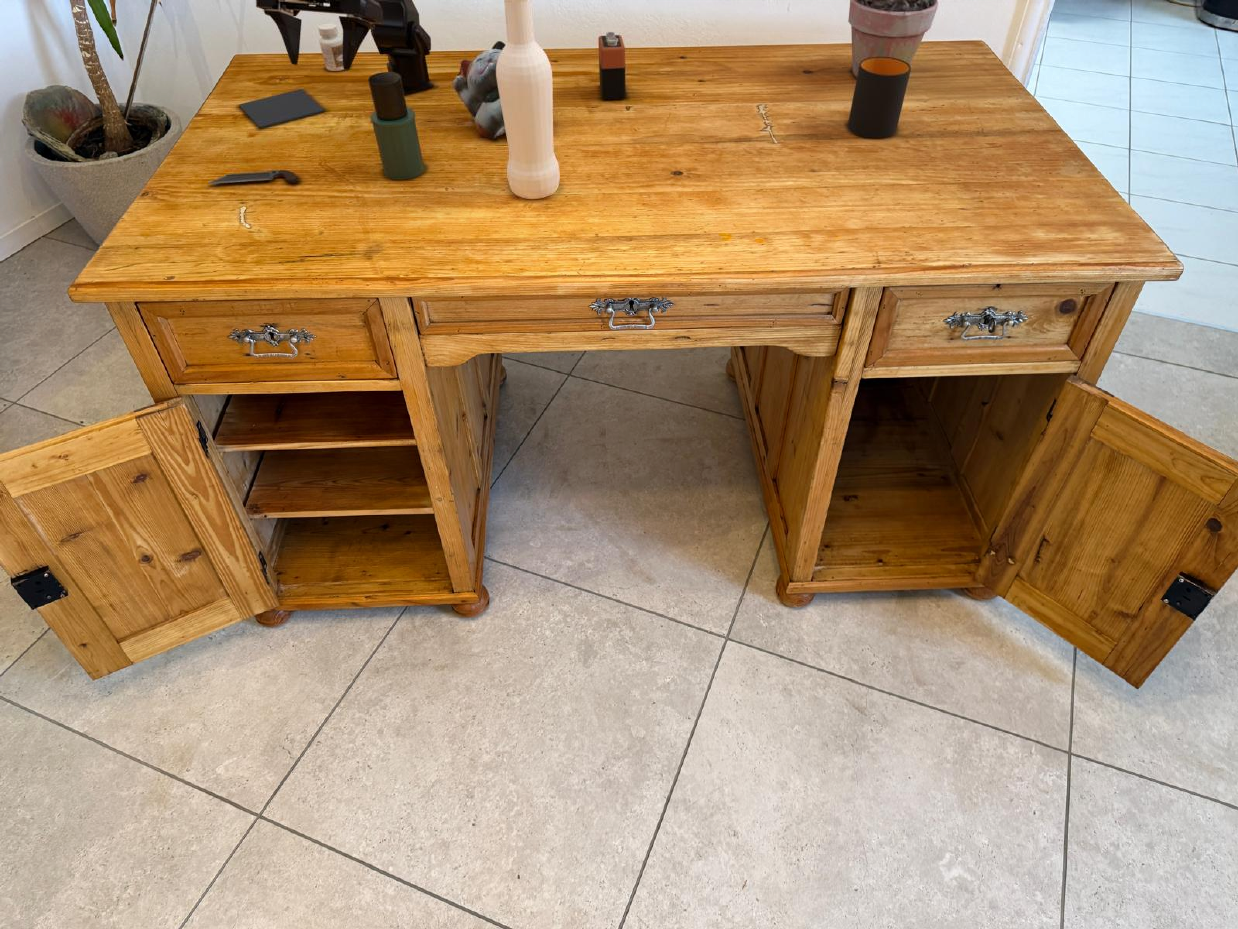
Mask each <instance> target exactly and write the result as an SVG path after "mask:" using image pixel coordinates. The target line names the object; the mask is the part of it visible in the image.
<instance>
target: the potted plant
mask: <svg viewBox="0 0 1238 929" xmlns="http://www.w3.org/2000/svg"><path fill="white" fill-rule="evenodd" d="M938 7H939V1H938V0H849V7H848V8H849V9H848V18H847V19H848V20H847V22H848V23H849V25H850V28H851V66H852V69H851V70H852V74H853V76H854V77H855V78H857V74H858V69H859V64H860V62H861V61H862V60H864V59H867V58H870V57H892V58H897V59H900V60H903V61H905V62H907V63H908V64H909V65H910V66H911V64H912V61H913V60H914V58H915V55H916V53H917V51H918V49H919V47H920V45H921V43H922V41H923V38H924V36H925V33H928V31H930V29H931V27H932V25H933V23H934V19H935V15H936V13H937V10H938Z"/></svg>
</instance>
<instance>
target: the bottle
mask: <svg viewBox="0 0 1238 929" xmlns="http://www.w3.org/2000/svg"><path fill="white" fill-rule="evenodd" d="M503 2H504V3H503V4H504V15H505V16H504V17H505V28H506V43H505V47H504V48H503V50H502V52H501V54H500V55H499V58H498V61H497V65H496V78H497V84H498V90H499V96H500V101H501V107H502V113H503V119H504V124H505V130H506V133H505V136H506V141H507V147H508V155H509V156H508V161H507V164H506V175H507V176H506V178H507V182H508V185H509V188H510V191H511V192H512V193H513V194H514V195H515V196H517V197H519V198H522V199H525V200H526V199H527V200H539V199H544V198H547V197H549V196H552V195H553V194H555V193H556V191H557V190H558V188H559V185H560V180H561V175H560V174H561V173H560V165H559V162H558V159H557V158H556V155H555V150H554V149H555V148H554V106H553V105H554V102H553V98H554V97H553V96H554V95H553V94H554V93H553V69H552V65H551V61H550V60H549V57H548V55H547V53H546V52H545V51H544V50H543V48H542V47H541V46H540V45H539V43H538V42H537V41H536V39H535V32H534V23H533V21H534V20H533V13H532V12H533V11H532V4H531V3H532V2H531V0H503Z"/></svg>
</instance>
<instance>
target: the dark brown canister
mask: <svg viewBox="0 0 1238 929" xmlns="http://www.w3.org/2000/svg"><path fill="white" fill-rule="evenodd" d="M367 81H368V85H369V90H370V94H371V97H372V103H373V107H374V111H373V112H371V114H370V116H369V118H370V119H369V120H370V122H371V124H372V125H373V124H374V125H375V126H378V127H383V128H394V127H400V126H403V125H406V124H408V123H410V122H412V121H413V120H414V119H416V114H415V111H414V109H412V108H411V107H408V105H407V101H406V96H405V95H404V91H403V86H402V81H401V76H400V75H399V74H397V73H394V72H388V71H382V72H377V73H374V74H372V75H370V76H369V77H368V79H367Z"/></svg>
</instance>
